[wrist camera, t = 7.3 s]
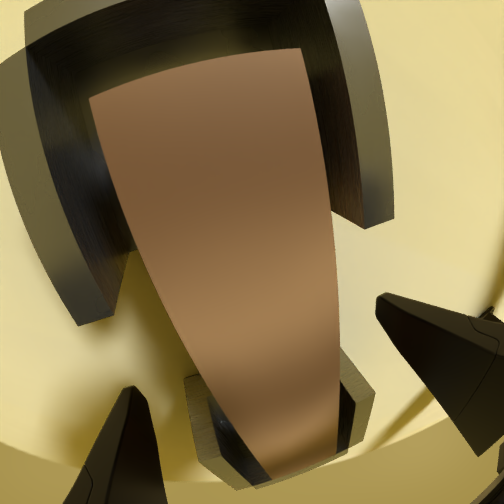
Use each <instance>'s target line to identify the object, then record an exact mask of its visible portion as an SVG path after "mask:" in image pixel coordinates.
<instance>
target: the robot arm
mask: <svg viewBox="0 0 504 504" xmlns="http://www.w3.org/2000/svg"><path fill="white" fill-rule="evenodd" d="M493 311H494V307H493V306H491V307H490V308H489V309H488V310H487V311H486V312H485V313H484V314H483V315H482V316H481V317H480V318H476V317H472V316H469V315H468V316H467V315H465V314H461V313H458V312H454V311H451V310H447V309H444V308H440V307H437V306H433V305H430V304H426V303H423V302H419V301H416V300H412V299H409V298H405V297H402V296H398V295H395V294H391V293H387V292H386V293H383V294H381V295H379V296H378V297H377V298H376V310H375V314H376V318H377V320H378V321H379V323H380V324H381V326H382V327H383V329H384V330H385V332H386V333H387V335H388V336H389V338H390V340H391V341H392V343H393V344H394V346H395V347H396V348H397V350H398V351H399V352H400V354H401V355H402V356H403V357H404V359H405V360H406V361H407V362H408V364H409V365H410V366H411V367H412V369H413V370H414V371H415V372H416V374H417V375H418V376H419V378H420V379H421V380H422V381H423V383H424V384H425V385H426V387H427V388H428V389H429V390H430V392H431V393H432V394H433V396H434V397H435V398H436V400H437V401H438V402H439V404H440V405H441V406H442V408H443V409H444V410H445V412H446V413H447V414H448V416H449V417H450V418H451V420H452V421H453V423H454V424H455V425H456V427H457V428H458V430H459V431H460V433H461V434H462V435H463V437H464V438H465V440H466V441H467V443H468V444H469V445H470V447H471V448H472V450H473V451H474V453H475V454H476V455H477V456H478V457H479V456H480V455H482V454H483V453H484V452H485V451H486V450H487V449H489V448H490V447H491V446H492V445H493V444H494V443H495V442H496V441H498V440H499V439H500V438H501V437H502V436H503V435H504V323H503V322H502V321H501V320H500V319H498V318H497V317H496V316H494V315H493ZM497 472H498V473H499V476H498V477H497V478H496V479H495V480H494V481H493V482H492V483H491V484H490V485H489V486H488V487H487V488H486V489H485V490H484V491H483V492H482V493H481V494H480V495H479V496H478V497H477V498H476V499H475V500H474V501H473V502H472V503H470V504H504V442H503V443H502V444H501V445H500V449H499V459H498V467H497ZM63 504H168V502H167V498H166V493H165V488H164V483H163V477H162V472H161V466H160V460H159V453H158V446H157V440H156V436H155V432H154V428H153V423H152V419H151V415H150V410H149V406H148V402H147V400H146V398H145V397H144V396H143V395H142V393H141V392H140V391H139V390H138V389H137V387H136V386H128V387H125V388H123V390H122V391H121V393H120V395H119V397H118V399H117V401H116V403H115V404H114V406H113V408H112V410H111V412H110V414H109V416H108V418H107V420H106V421H105V423H104V425H103V427H102V429H101V431H100V433H99V435H98V437H97V439H96V441H95V443H94V445H93V447H92V449H91V451H90V453H89V455H88V457H87V459H86V461H85V465H83V467H82V469H81V472H80V474H79V476H78V477H77V479H76V481H75V483H74V485H73V487H72V488H71V491H70V492H69V494H68V496H67V497H66V499H65V501H64V502H63Z"/></svg>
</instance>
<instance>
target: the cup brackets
mask: <svg viewBox="0 0 504 504" xmlns="http://www.w3.org/2000/svg"><path fill="white" fill-rule="evenodd" d="M24 27H25V47H24V48H23V49H21V50H20V51H18V52H17V53H15V54H14V55H12V56H11V57H9V58H8V59H6V60H5V61H4V62H2V63H1V64H0V151H1V155H2V159H3V162H4V166H5V170H6V173H7V176H8V180H9V183H10V186H11V189H12V192H13V195H14V198H15V201H16V204H17V206H18V209H19V212H20V214H21V217H22V220H23V222H24V225H25V227H26V229H27V232H28V234H29V236H30V239H31V241H32V243H33V245H34V248H35V250H36V252H37V254H38V256H39V258H40V260H41V262H42V264H43V266H44V268H45V270H46V272H47V274H48V276H49V278H50V280H51V282H52V284H53V285H54V287H55V289H56V291H57V293H58V294H59V296H60V298H61V299H62V301H63V303H64V305H65V306H66V308H67V309H68V311H69V313H70V314H71V316H72V318H73V319H74V321H75V322H76V324H77V325H78V326H81V325H84V324H87V323H90V322H94V321H97V320H100V319H103V318H106V317H110V316H113V315H114V312H115V308H116V303H117V299H118V294H119V290H120V286H121V282H122V278H123V274H124V270H125V266H126V263H127V259H128V255H129V252H131V251H134V250H137V249H138V248H137V245H136V243H135V240H134V238H133V236H132V233H131V231H130V228H129V225H128V223H127V220H126V218H125V215H124V212H123V210H122V207H121V204H120V202H119V199H118V196H117V193H116V190H115V187H114V184H113V182H112V179H111V176H110V173H109V169H108V166H107V163H106V160H105V157H104V153H103V150H102V147H101V143H100V140H99V136H98V133H97V129H96V125H95V122H94V118H93V114H92V110H91V106H90V102H89V98H91V97H93V96H95V95H98V94H100V93H102V92H105V91H107V90H110V89H112V88H115V87H117V86H120V85H123V84H125V83H128V82H131V81H134V80H137V79H139V78H142V77H145V76H149V75H152V74H155V73H158V72H162V71H165V70H169V69H172V68H176V67H180V66H184V65H188V64H192V63H196V62H200V61H205V60H210V59H215V58H220V57H226V56H231V55H238V54H244V53H252V52H260V51H269V50H280V49H294V48H301V52H302V56H303V60H304V64H305V68H306V72H307V76H308V80H309V85H310V89H311V94H312V98H313V103H314V108H315V113H316V118H317V123H318V129H319V134H320V140H321V145H322V151H323V157H324V164H325V170H326V177H327V184H328V191H329V199H330V207H331V211H333V212H334V213H336V214H338V215H340V216H342V217H344V218H345V219H347V220H349V221H351V222H352V223H354V224H356V225H358V226H360V227H361V228H363V229H367V228H370V227H373V226H375V225H378V224H381V223H383V222H386V221H389V220H392V219H394V190H393V172H392V158H391V147H390V138H389V129H388V122H387V115H386V108H385V102H384V96H383V90H382V85H381V80H380V75H379V70H378V65H377V61H376V57H375V53H374V49H373V45H372V41H371V37H370V34H369V30H368V27H367V23H366V20H365V17H364V13H363V10H362V7H361V4H360V1H359V0H44V1H42V2H40V3H38V4H37V5H35V6H33V7H31V8H30V9H28V10H26V11H25V12H24ZM184 386H185V392H186V398H187V404H188V410H189V416H190V421H191V427H192V432H193V437H194V442H195V447H196V451H197V456H198V461H199V462H200V463H201V464H202V465H203V466H205V467H206V468H207V469H208V470H210V471H211V472H212V473H213V474H215V475H216V476H217V477H219V478H220V479H221V480H223V481H224V482H225V483H227V484H228V485H230V486H231V487H232V488H234V489H235V490H240V489H244V488H248V487H251V486H253V487H254V488H256V489H259V488H262V487H265V486H268V485H271V484H275V483H278V482H280V481H283V480H286V479H289V478H292V477H294V476H297V475H299V474H302V473H305V472H307V471H310V470H312V469H314V468H317V467H319V466H321V465H324V464H326V463H328V462H330V461H332V460H334V459H337V458H339V457H341V456H343V455H345V454H347V452H348V448H350V447H352V446H354V445H356V444H358V443H359V442H361V441H363V439H364V435H365V432H366V428H367V425H368V421H369V417H370V414H371V410H372V406H373V402H374V397H375V391H374V390H373V389H372V387H371V386H370V385H369V383H368V382H367V381H366V380H365V378H364V377H363V376H362V374H361V373H360V372H359V371H358V369H357V368H356V367H355V365H354V364H353V363H352V362H351V360H350V359H349V358H348V356H347V355H346V354H345V353H344V351H343V350H342V349H341V347H340V392H339V418H338V435H337V449H336V454H335V455H333V456H331V457H329V458H327V459H325V460H322V461H320V462H318V463H316V464H313V465H311V466H309V467H306V468H304V469H301V470H299V471H296V472H293V473H291V474H288V475H285V476H282V477H280V478H277V479H274V480H272V479H271V477H270V476H269V475H268V474H267V472H266V471H265V470H264V468H263V467H262V466H261V465H260V463H259V462H258V461H257V459H256V458H255V456H254V455H253V454H252V452H251V451H250V450H249V448H248V447H247V445H246V444H245V443H244V441H243V440H242V438H241V437H240V435H239V434H238V433H237V431H236V430H235V428H234V427H233V425H232V424H231V422H230V421H229V419H228V418H227V416H226V415H225V413H224V412H223V410H222V408H221V407H220V405H219V404H218V402H217V401H216V399H215V397H214V396H213V394H212V393H211V391H210V389H209V388H208V386H207V384H206V383H205V381H204V379H203V378H202V376H201V374H198V375H195V376H192V377H188V378H185V379H184Z"/></svg>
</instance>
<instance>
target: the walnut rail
mask: <svg viewBox="0 0 504 504" xmlns="http://www.w3.org/2000/svg"><path fill="white" fill-rule="evenodd" d="M89 102H90V106H91V110H92V114H93V118H94V122H95V125H96V129H97V133H98V136H99V140H100V143H101V147H102V150H103V153H104V157H105V160H106V163H107V166H108V169H109V173H110V176H111V179H112V182H113V184H114V187H115V190H116V193H117V196H118V199H119V202H120V204H121V207H122V210H123V212H124V215H125V218H126V220H127V223H128V225H129V228H130V231H131V233H132V236H133V238H134V240H135V243H136V245H137V248H138V250H139V253H140V255H141V257H142V260H143V262H144V264H145V266H146V269H147V271H148V273H149V275H150V278H151V280H152V282H153V284H154V286H155V288H156V291H157V293H158V295H159V297H160V299H161V301H162V303H163V305H164V307H165V309H166V311H167V313H168V315H169V317H170V319H171V321H172V323H173V325H174V327H175V329H176V331H177V333H178V335H179V337H180V338H181V340H182V342H183V344H184V346H185V348H186V350H187V351H188V353H189V355H190V357H191V359H192V360H193V362H194V364H195V366H196V367H197V369H198V371H199V372H200V374H201V376H202V378H203V379H204V381H205V383H206V384H207V386H208V388H209V389H210V391H211V393H212V394H213V396H214V397H215V399H216V401H217V402H218V404H219V405H220V407H221V408H222V410H223V412H224V413H225V415H226V416H227V418H228V419H229V421H230V422H231V424H232V425H233V427H234V428H235V430H236V431H237V433H238V434H239V435H240V437H241V438H242V440H243V441H244V443H245V444H246V445H247V447H248V448H249V450H250V451H251V452H252V454H253V455H254V456H255V458H256V459H257V461H258V462H259V463H260V465H261V466H262V467H263V468H264V470H265V471H266V472H267V474H268V475H269V476H270V477H271V479H272V480H274V479H277V478H280V477H282V476H285V475H288V474H291V473H293V472H296V471H299V470H301V469H304V468H306V467H309V466H311V465H313V464H316V463H318V462H320V461H322V460H325V459H327V458H329V457H331V456H333V455H335V454H336V449H337V435H338V418H339V392H340V330H339V302H338V284H337V269H336V256H335V245H334V234H333V225H332V216H331V207H330V199H329V191H328V184H327V177H326V170H325V164H324V157H323V151H322V145H321V140H320V134H319V129H318V123H317V118H316V113H315V108H314V103H313V98H312V94H311V89H310V85H309V80H308V76H307V72H306V68H305V64H304V60H303V56H302V52H301V48H294V49H280V50H269V51H260V52H252V53H244V54H238V55H231V56H226V57H220V58H215V59H210V60H205V61H200V62H196V63H192V64H188V65H184V66H180V67H176V68H172V69H169V70H165V71H162V72H158V73H155V74H152V75H149V76H145V77H142V78H139V79H137V80H134V81H131V82H128V83H125V84H123V85H120V86H117V87H115V88H112V89H110V90H107V91H105V92H102V93H100V94H98V95H95V96H93V97H91V98H89Z"/></svg>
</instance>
